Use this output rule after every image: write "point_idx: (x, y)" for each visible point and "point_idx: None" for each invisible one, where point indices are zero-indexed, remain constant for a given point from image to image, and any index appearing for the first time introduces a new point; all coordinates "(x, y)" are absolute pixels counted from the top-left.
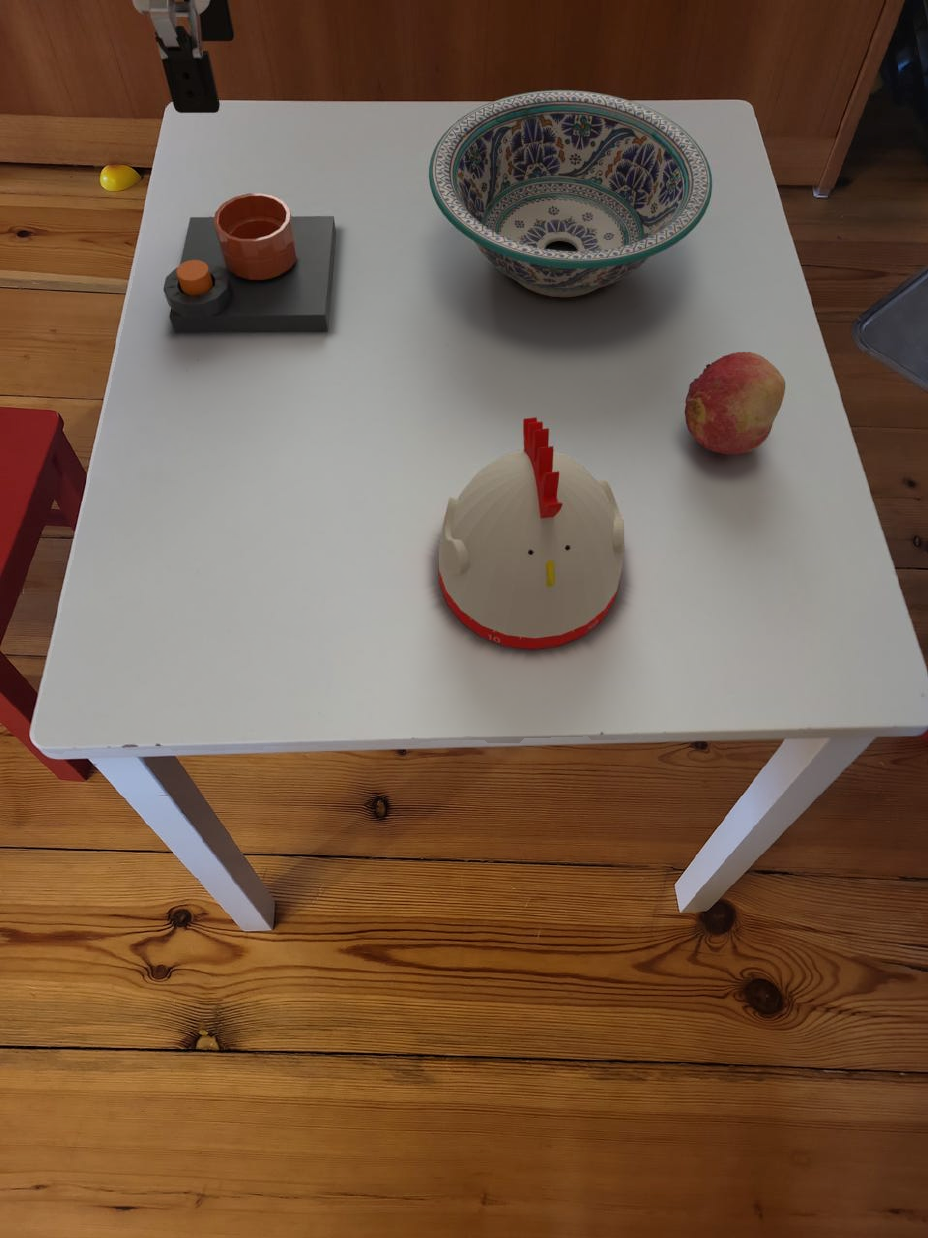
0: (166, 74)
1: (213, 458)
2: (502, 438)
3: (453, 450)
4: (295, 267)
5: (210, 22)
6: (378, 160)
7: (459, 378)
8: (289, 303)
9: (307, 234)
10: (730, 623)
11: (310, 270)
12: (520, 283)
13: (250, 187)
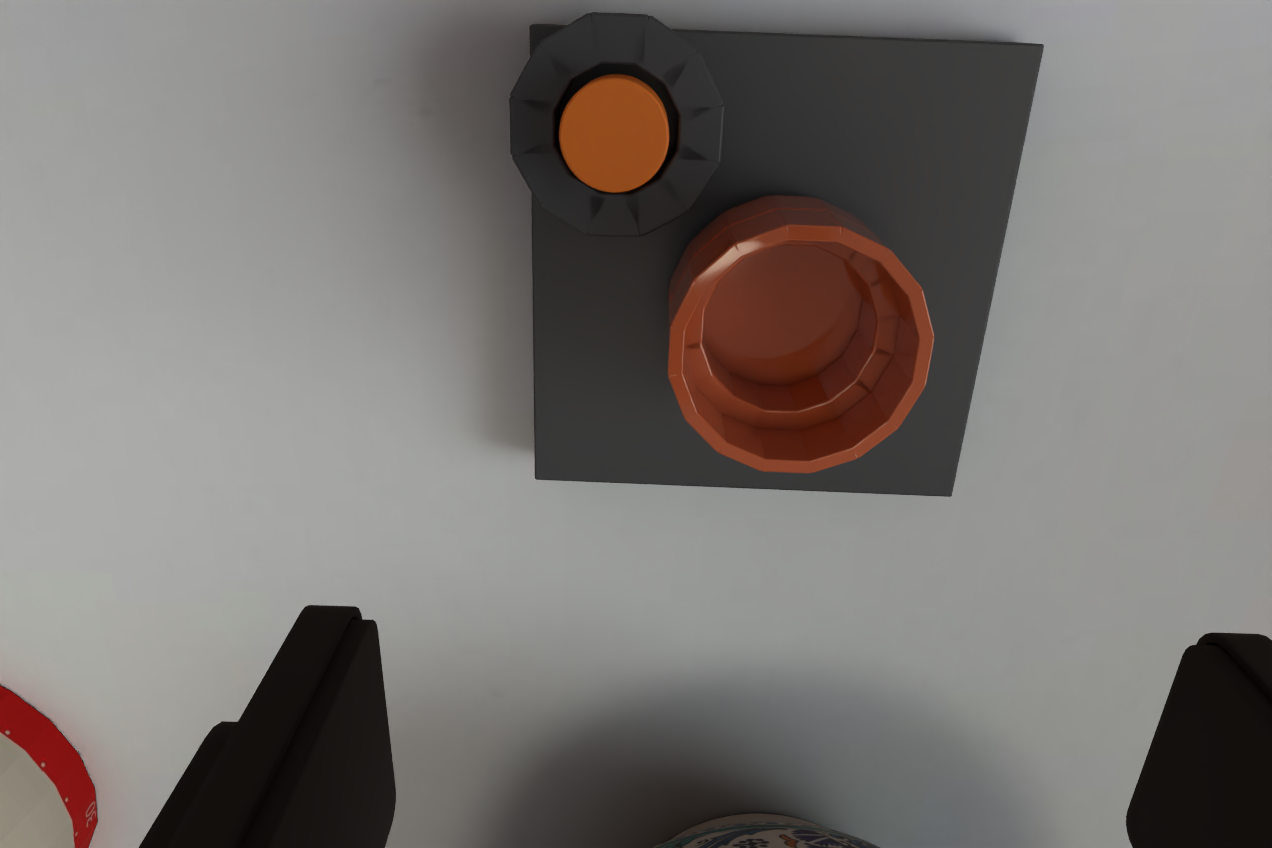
0: (207, 785)
1: (69, 189)
2: None
3: (193, 689)
4: None
5: (1213, 837)
6: (1236, 576)
7: (396, 709)
8: (581, 390)
9: None
10: None
11: None
12: (682, 833)
13: (1223, 216)
